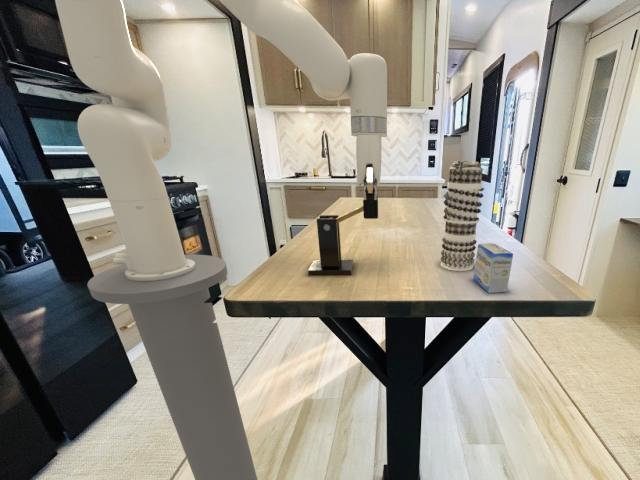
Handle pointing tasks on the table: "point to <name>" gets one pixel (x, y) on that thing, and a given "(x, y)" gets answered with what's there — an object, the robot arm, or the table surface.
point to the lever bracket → (329, 249)
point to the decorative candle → (461, 215)
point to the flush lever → (349, 214)
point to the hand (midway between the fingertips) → (371, 214)
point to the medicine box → (492, 267)
